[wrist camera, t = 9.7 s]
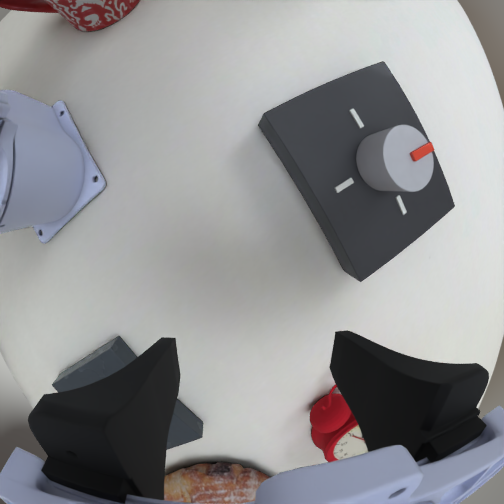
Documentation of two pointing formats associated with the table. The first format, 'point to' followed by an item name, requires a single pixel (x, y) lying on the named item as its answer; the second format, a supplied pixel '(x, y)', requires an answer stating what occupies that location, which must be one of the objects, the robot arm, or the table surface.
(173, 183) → the table surface
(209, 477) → the bread
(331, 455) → the alarm clock
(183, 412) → the button box
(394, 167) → the knob
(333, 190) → the panel
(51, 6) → the mug
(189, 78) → the table surface
